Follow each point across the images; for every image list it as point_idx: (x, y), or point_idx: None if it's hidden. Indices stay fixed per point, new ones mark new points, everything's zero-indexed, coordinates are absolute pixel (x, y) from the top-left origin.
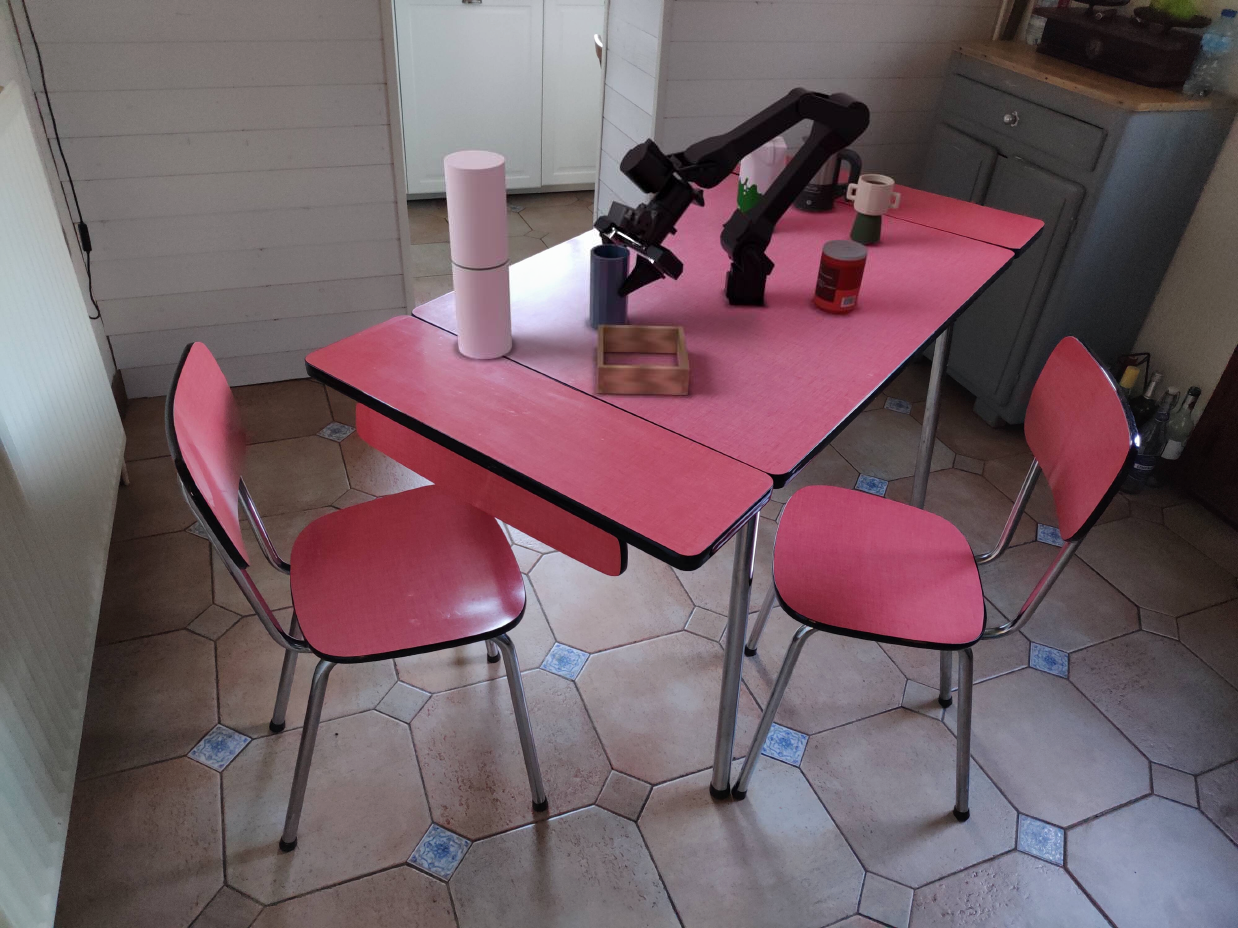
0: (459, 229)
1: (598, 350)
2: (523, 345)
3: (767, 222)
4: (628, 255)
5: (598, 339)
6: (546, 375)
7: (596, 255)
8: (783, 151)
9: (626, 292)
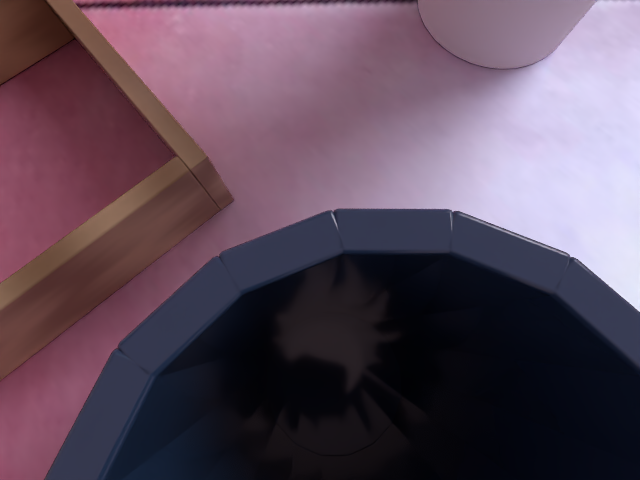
0: None
1: (78, 9)
2: (424, 72)
3: None
4: None
5: (127, 66)
6: (252, 3)
7: (451, 247)
8: None
9: None
